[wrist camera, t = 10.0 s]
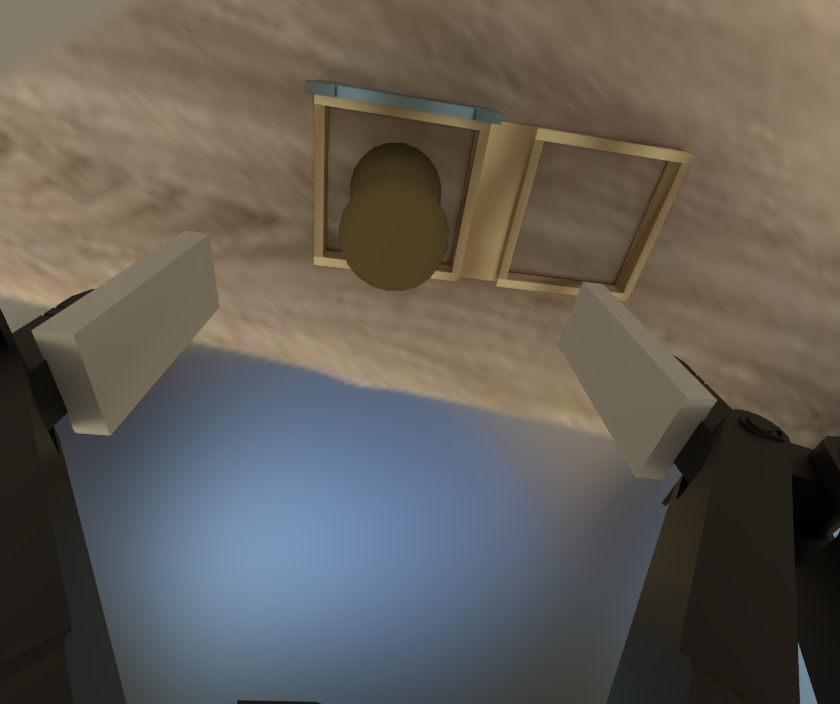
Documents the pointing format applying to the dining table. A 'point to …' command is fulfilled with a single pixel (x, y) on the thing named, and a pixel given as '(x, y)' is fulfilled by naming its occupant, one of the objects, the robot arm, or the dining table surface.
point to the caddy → (491, 186)
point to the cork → (394, 219)
